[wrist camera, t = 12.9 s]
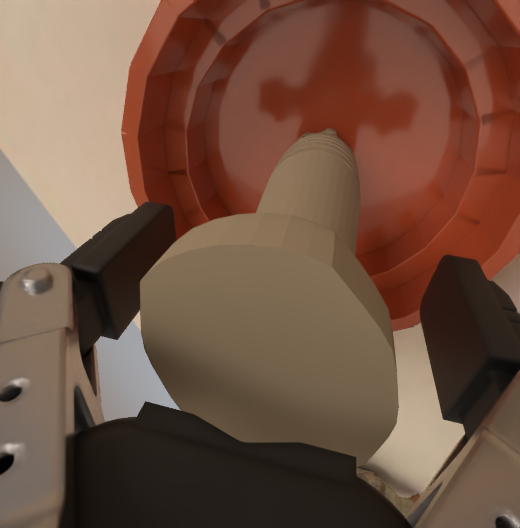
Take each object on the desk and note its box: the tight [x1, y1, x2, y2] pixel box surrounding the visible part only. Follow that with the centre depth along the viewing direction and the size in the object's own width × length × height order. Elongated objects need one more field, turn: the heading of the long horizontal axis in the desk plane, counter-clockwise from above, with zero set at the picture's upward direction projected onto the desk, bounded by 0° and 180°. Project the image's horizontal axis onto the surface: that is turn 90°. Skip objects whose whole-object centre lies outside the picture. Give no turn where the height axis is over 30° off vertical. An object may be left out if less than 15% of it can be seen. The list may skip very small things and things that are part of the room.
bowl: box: [121, 0, 520, 331], centre depth 17 cm, size 18×18×6 cm
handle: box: [140, 128, 399, 467], centre depth 13 cm, size 5×6×15 cm
